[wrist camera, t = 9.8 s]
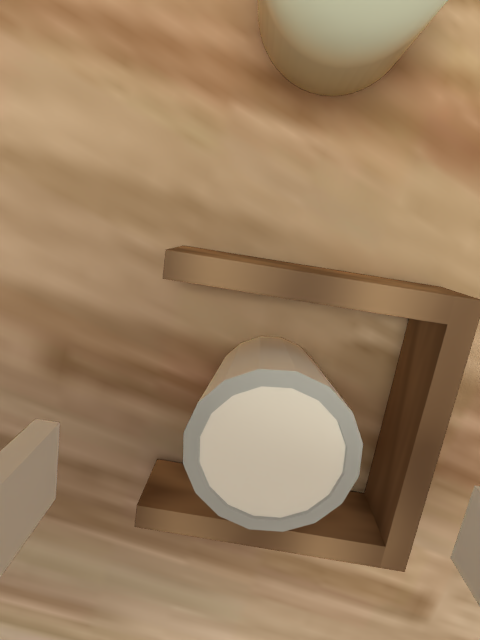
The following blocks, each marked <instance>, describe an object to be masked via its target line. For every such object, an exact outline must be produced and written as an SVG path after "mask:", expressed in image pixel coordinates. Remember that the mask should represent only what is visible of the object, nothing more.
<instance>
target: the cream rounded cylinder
mask: <svg viewBox="0 0 480 640" xmlns="http://www.w3.org/2000/svg"><path fill="white" fill-rule="evenodd" d="M447 1H448V0H258V22H259V29H260V34H261V38H262V42H263V45H264V47H265V49H266V52H267V54H268V56H269V58H270V59H271V61H272V63H273V64H274V66H275V67H276V68H277V70H278V71H279V72H280V73H281V74H282V75H283V76H284V77H285V78H286V79H287V80H289V81H290V82H291V83H293V84H294V85H296V86H297V87H299V88H301V89H303V90H305V91H308V92H311V93H314V94H318V95H325V96H340V95H346V94H351V93H354V92H357V91H360V90H362V89H364V88H366V87H368V86H370V85H372V84H373V83H375V82H376V81H378V80H379V79H380V78H381V77H383V76H384V75H385V74H386V73H387V72H388V71H389V70H390V69H391V68H392V67H393V66H394V64H395V63H396V62H397V61H398V60H399V59H400V57H401V56H402V55H403V54H404V53H405V51H406V50H407V49H408V48H409V47H410V45H411V44H412V43H413V42H414V40H415V39H416V38H417V37H418V36H419V34H420V33H421V32H422V31H423V30H424V28H425V27H426V26H427V25H428V24H429V22H430V21H431V20H432V19H433V18H434V16H435V15H436V14H437V13H438V12H439V10H440V9H441V8H442V7H443V6H444V4H445V3H446V2H447Z"/></svg>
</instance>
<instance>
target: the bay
mask: <svg viewBox="0 0 480 640" xmlns="http://www.w3.org/2000/svg"><path fill="white" fill-rule="evenodd" d="M163 279H168V280H174V281H181V282H187V283H193V284H199V285H205V286H212V287H218V288H224V289H230V290H236V291H243V292H249V293H255V294H261V295H267V296H274V297H280V298H286V299H292V300H298V301H305V302H311V303H317V304H323V305H329V306H336V307H342V308H348V309H354V310H360V311H367V312H373V313H379V314H385V315H391V316H398V317H404V318H409V322H408V326H407V329H406V333H405V337H404V341H403V345H402V349H401V353H400V357H399V361H398V365H397V368H396V372H395V376H394V380H393V384H392V388H391V392H390V396H389V400H388V404H387V408H386V411H385V415H384V419H383V423H382V427H381V431H380V435H379V439H378V443H377V447H376V451H375V454H374V458H373V462H372V466H371V470H370V474H369V478H368V482H367V486H366V490H365V494H364V493H358V492H352V491H350V492H349V493H348V495H347V496H346V498H345V500H344V501H343V503H342V504H341V505H339V506H338V507H337V508H335V509H334V510H333V511H331V512H330V513H328V514H327V515H326V516H324V517H323V518H321V519H320V520H319V521H317V522H316V523H313V524H310V525H306V526H302V527H299V528H295V529H291V530H288V531H284V532H279V531H265V530H252V529H247V528H245V527H243V526H241V525H238V524H236V523H234V522H231V521H229V520H227V519H225V518H222V517H220V516H218V515H217V514H216V513H215V512H214V511H213V510H212V509H211V508H210V507H209V506H208V505H207V504H206V503H205V502H204V501H203V500H202V499H201V498H200V497H199V496H198V495H197V494H196V493H195V491H194V489H193V486H192V484H191V481H190V479H189V477H188V474H187V472H186V470H185V467H184V465H183V463H177V462H171V461H165V460H159V459H157V461H156V463H155V465H154V468H153V470H152V472H151V474H150V477H149V479H148V481H147V484H146V486H145V488H144V490H143V493H142V495H141V497H140V500H139V502H138V504H137V509H136V518H135V527H139V528H145V529H151V530H157V531H163V532H169V533H175V534H181V535H187V536H193V537H199V538H205V539H211V540H217V541H223V542H229V543H235V544H241V545H247V546H253V547H259V548H265V549H271V550H277V551H283V552H289V553H295V554H301V555H307V556H313V557H318V558H324V559H330V560H336V561H342V562H348V563H354V564H360V565H366V566H372V567H378V568H384V569H390V570H396V571H402V572H405V569H406V565H407V562H408V559H409V555H410V552H411V548H412V545H413V542H414V538H415V535H416V532H417V528H418V525H419V521H420V518H421V515H422V511H423V508H424V505H425V501H426V498H427V494H428V491H429V488H430V484H431V481H432V478H433V474H434V471H435V467H436V464H437V461H438V457H439V454H440V450H441V447H442V444H443V440H444V437H445V434H446V430H447V427H448V423H449V420H450V417H451V413H452V410H453V407H454V403H455V400H456V396H457V393H458V390H459V386H460V383H461V380H462V376H463V373H464V369H465V366H466V363H467V359H468V356H469V352H470V349H471V346H472V342H473V339H474V336H475V332H476V329H477V325H478V322H479V319H480V299H477V298H474V297H471V296H468V295H465V294H461V293H458V292H455V291H452V290H449V289H446V288H443V287H438V286H432V285H425V284H419V283H413V282H407V281H400V280H394V279H388V278H382V277H375V276H369V275H363V274H357V273H351V272H344V271H338V270H332V269H326V268H319V267H313V266H307V265H301V264H294V263H288V262H282V261H276V260H270V259H263V258H257V257H251V256H245V255H238V254H232V253H226V252H220V251H213V250H207V249H201V248H195V247H188V246H180V247H176V248H171V249H167V250H166V252H165V261H164V270H163Z"/></svg>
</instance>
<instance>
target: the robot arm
mask: <svg viewBox="0 0 480 640" xmlns="http://www.w3.org/2000/svg"><path fill="white" fill-rule="evenodd" d="M59 433H60V422H54V421H48V420H41V419H35V420H34V421H32V422H31V423H30V424H29V425H28V426H27V427H26V428H25V429H24V430H23V431H22V432H20V433H19V434H18V435H17V436H16V437H15V438H14V439H13V440H12V441H11V442H10V443H8V444H7V445H6V446H5V447H4V448H3V449H2V450H1V451H0V577H1V576H2V575H3V573H4V572H5V570H6V569H7V567H8V566H9V565H10V563H11V562H12V560H13V559H14V557H15V556H16V555H17V553H18V552H19V550H20V549H21V547H22V546H23V545H24V543H25V542H26V540H27V539H28V538H29V536H30V535H31V533H32V532H33V530H34V529H35V528H36V526H37V525H38V523H39V522H40V520H41V519H42V518H43V516H44V515H45V513H46V512H47V510H48V509H49V508H50V506H51V505H52V503H53V502H54V500H55V499H56V486H57V468H58V451H59ZM451 559H452V561H453V563H454V564H455V566H456V568H457V569H458V571H459V573H460V574H461V576H462V578H463V579H464V581H465V583H466V584H467V586H468V588H469V589H470V591H471V593H472V594H473V596H474V598H475V599H476V601H477V603H478V604H479V606H480V486H474V489H473V492H472V495H471V498H470V501H469V504H468V507H467V510H466V513H465V516H464V519H463V522H462V525H461V528H460V531H459V534H458V537H457V540H456V543H455V546H454V549H453V552H452V555H451Z"/></svg>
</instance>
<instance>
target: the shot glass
mask: <svg viewBox="0 0 480 640" xmlns="http://www.w3.org/2000/svg"><path fill="white" fill-rule="evenodd" d="M362 449H363V442H362V439H361V436H360V433H359V430H358V427H357V424H356V421H355V417H354V414H353V412H352V411H351V409H350V408H349V407H348V405H347V404H346V403H345V402H344V400H343V399H342V398H341V396H340V395H339V394H338V392H337V391H336V390H335V388H334V387H333V386H332V385H331V383H330V382H329V381H328V379H327V378H326V377H325V375H324V374H323V373H322V372H321V370H320V369H319V368H318V366H317V365H316V364H315V362H314V361H313V360H312V359H311V358H310V357H309V356H308V354H307V353H306V352H305V351H304V350H303V349H302V348H301V347H300V346H298V345H296V344H294V343H292V342H290V341H288V340H286V339H284V338H282V337H265V336H260V337H257V338H254V339H251V340H248V341H245V342H242V343H240V344H239V345H238V346H237V347H236V348H234V349H233V350H232V351H231V352H230V353H229V354H227V355H226V356H225V358H224V360H223V361H222V363H221V365H220V367H219V368H218V370H217V372H216V373H215V375H214V377H213V378H212V380H211V382H210V383H209V385H208V387H207V388H206V390H205V392H204V393H203V395H202V397H201V398H200V400H199V402H198V404H197V406H196V408H195V410H194V412H193V414H192V416H191V418H190V420H189V422H188V424H187V426H186V428H185V430H184V439H183V465H184V467H185V470H186V472H187V474H188V477H189V479H190V481H191V484H192V486H193V489H194V491H195V493H196V494H197V495H198V496H199V497H200V498H201V499H202V500H203V501H204V502H205V503H206V504H207V505H208V506H209V507H210V508H211V509H212V510H213V511H214V512H215V513H216V514H217V515H218V516H220V517H222V518H225V519H227V520H229V521H231V522H234V523H236V524H238V525H241V526H243V527H245V528H247V529H252V530H265V531H279V532H284V531H288V530H291V529H295V528H299V527H302V526H306V525H310V524H313V523H316V522H317V521H319V520H320V519H321V518H323V517H324V516H326V515H327V514H328V513H330V512H331V511H333V510H334V509H335V508H337V507H338V506H339V505H341V504H342V503H343V501H344V500H345V498H346V496H347V495H348V493H349V492H350V490H351V488H352V487H353V485H354V483H355V482H356V480H357V479H358V477H359V473H360V465H361V457H362Z"/></svg>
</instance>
